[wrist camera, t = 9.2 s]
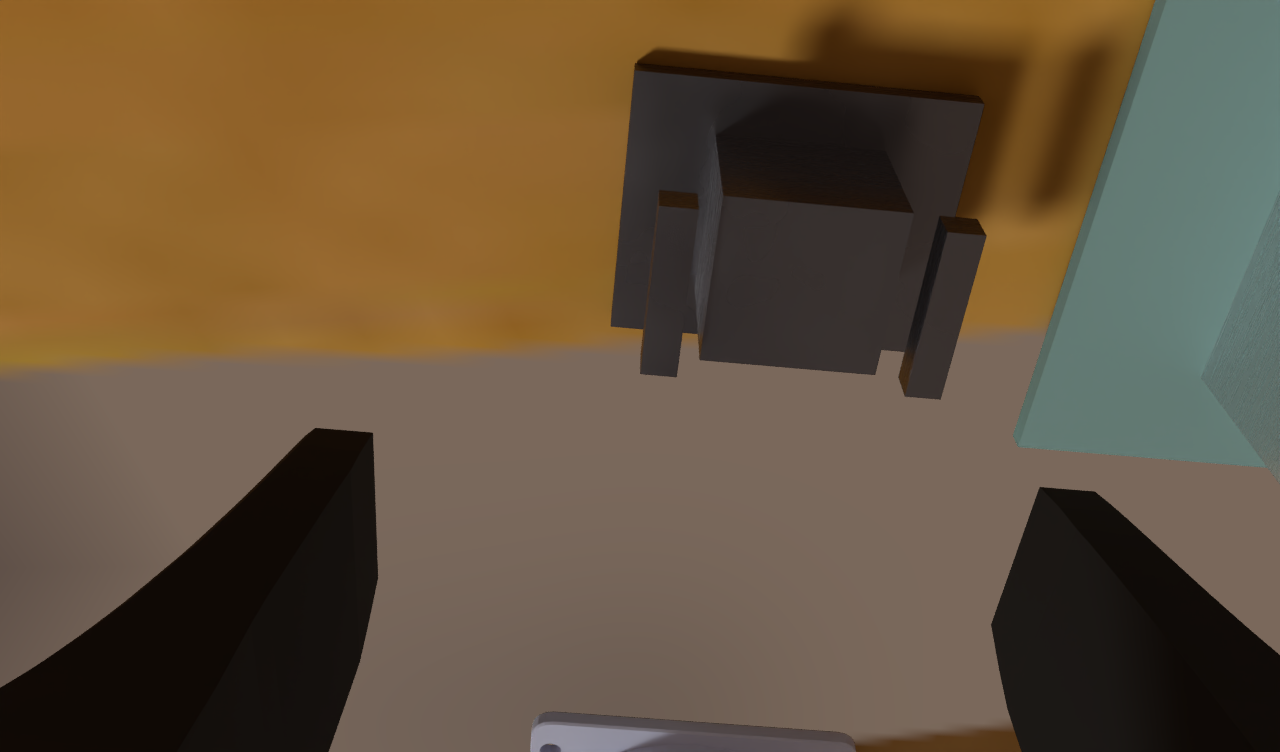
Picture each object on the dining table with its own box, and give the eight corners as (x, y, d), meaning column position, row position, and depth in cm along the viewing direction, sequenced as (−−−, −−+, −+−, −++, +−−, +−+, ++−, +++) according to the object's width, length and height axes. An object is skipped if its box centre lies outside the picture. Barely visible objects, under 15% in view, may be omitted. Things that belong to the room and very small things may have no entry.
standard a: (914, 342, 23) (956, 450, 20) (611, 316, 23) (604, 421, 20) (979, 96, 20) (1037, 177, 17) (635, 63, 20) (631, 139, 17)
